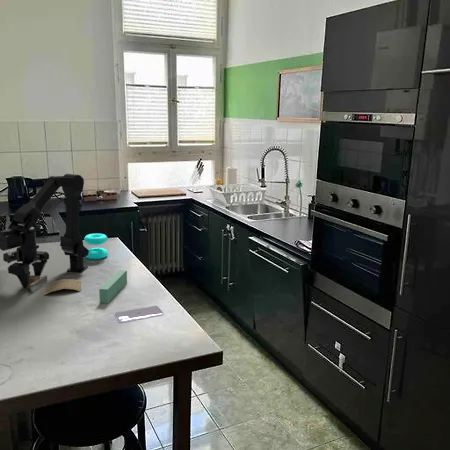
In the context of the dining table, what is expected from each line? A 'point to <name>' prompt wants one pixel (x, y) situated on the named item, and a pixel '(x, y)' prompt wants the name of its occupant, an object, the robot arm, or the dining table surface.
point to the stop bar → (113, 286)
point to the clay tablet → (63, 285)
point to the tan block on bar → (36, 282)
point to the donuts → (96, 240)
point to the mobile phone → (138, 314)
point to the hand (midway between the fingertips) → (31, 284)
